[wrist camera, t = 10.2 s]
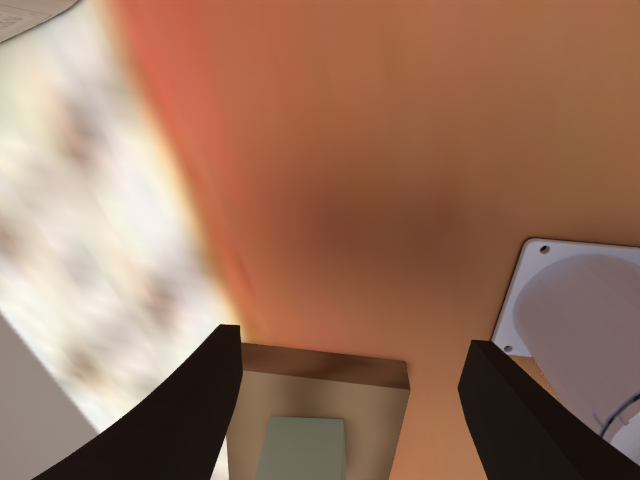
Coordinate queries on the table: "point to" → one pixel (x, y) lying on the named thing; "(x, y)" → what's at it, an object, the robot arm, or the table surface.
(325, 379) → the walnut riser block
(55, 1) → the photo printer
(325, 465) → the sage wooden cube
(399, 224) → the table surface
